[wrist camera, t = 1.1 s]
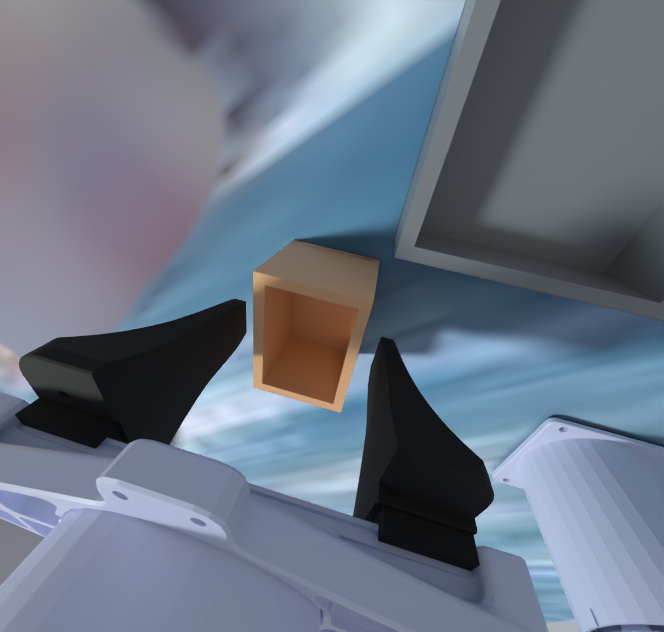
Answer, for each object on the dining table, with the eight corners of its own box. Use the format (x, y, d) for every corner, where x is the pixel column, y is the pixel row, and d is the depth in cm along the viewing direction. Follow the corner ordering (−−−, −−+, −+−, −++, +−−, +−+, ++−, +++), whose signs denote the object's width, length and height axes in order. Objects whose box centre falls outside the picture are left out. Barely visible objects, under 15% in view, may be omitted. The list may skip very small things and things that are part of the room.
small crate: (380, 260, 14) (373, 301, 10) (353, 353, 18) (340, 412, 14) (294, 239, 15) (253, 271, 10) (285, 335, 18) (253, 387, 14)
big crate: (992, -192, 6) (1590, -547, 3) (600, 283, 12) (663, 320, 10) (533, -224, 7) (639, -519, 4) (394, 236, 13) (394, 257, 10)
